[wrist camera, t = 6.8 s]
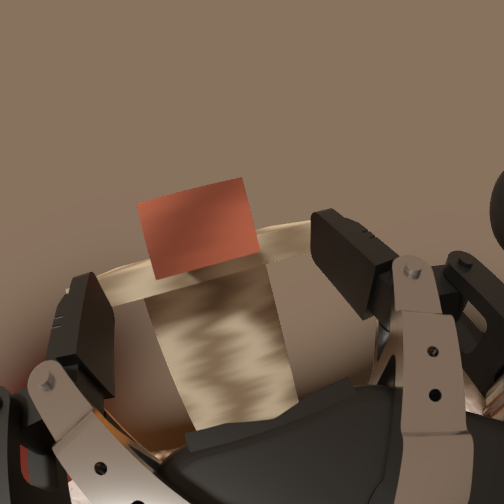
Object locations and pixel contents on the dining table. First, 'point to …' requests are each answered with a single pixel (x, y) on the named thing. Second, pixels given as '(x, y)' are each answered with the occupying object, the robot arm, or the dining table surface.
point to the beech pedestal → (220, 329)
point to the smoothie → (77, 494)
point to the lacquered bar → (198, 228)
